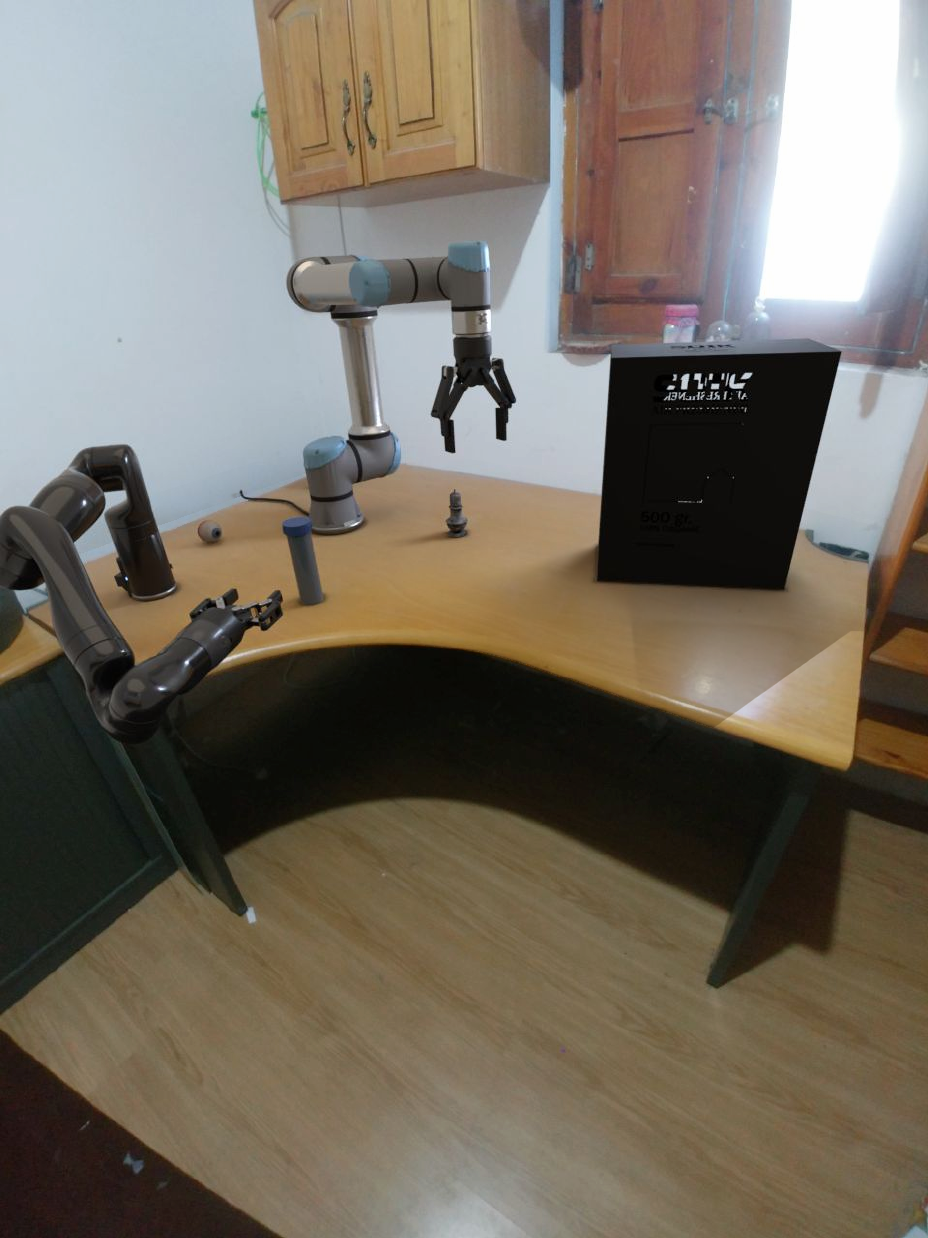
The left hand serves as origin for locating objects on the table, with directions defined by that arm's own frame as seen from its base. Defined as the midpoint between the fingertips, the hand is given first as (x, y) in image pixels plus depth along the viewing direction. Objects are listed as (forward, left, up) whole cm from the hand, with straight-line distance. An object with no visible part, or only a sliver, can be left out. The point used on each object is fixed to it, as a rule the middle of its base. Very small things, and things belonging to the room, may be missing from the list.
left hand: (257, 593), depth 107 cm
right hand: (+33, +40, +16) cm, 55 cm away
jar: (-1, +21, -12) cm, 24 cm away
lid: (-1, +21, +5) cm, 21 cm away
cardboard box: (+79, +44, -12) cm, 91 cm away
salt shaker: (+24, +60, -12) cm, 65 cm away
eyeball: (-42, +49, -12) cm, 66 cm away
